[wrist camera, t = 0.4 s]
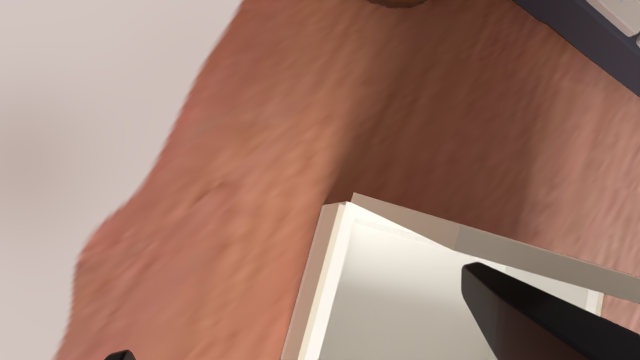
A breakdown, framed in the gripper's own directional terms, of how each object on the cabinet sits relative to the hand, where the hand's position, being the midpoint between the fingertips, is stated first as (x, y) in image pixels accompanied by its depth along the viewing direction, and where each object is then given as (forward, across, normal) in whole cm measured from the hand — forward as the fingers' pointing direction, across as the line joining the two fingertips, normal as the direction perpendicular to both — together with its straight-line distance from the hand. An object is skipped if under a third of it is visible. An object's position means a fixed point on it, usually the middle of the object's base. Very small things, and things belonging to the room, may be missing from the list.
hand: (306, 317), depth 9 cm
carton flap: (+2, -9, +3) cm, 10 cm away
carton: (+11, -6, +12) cm, 17 cm away
